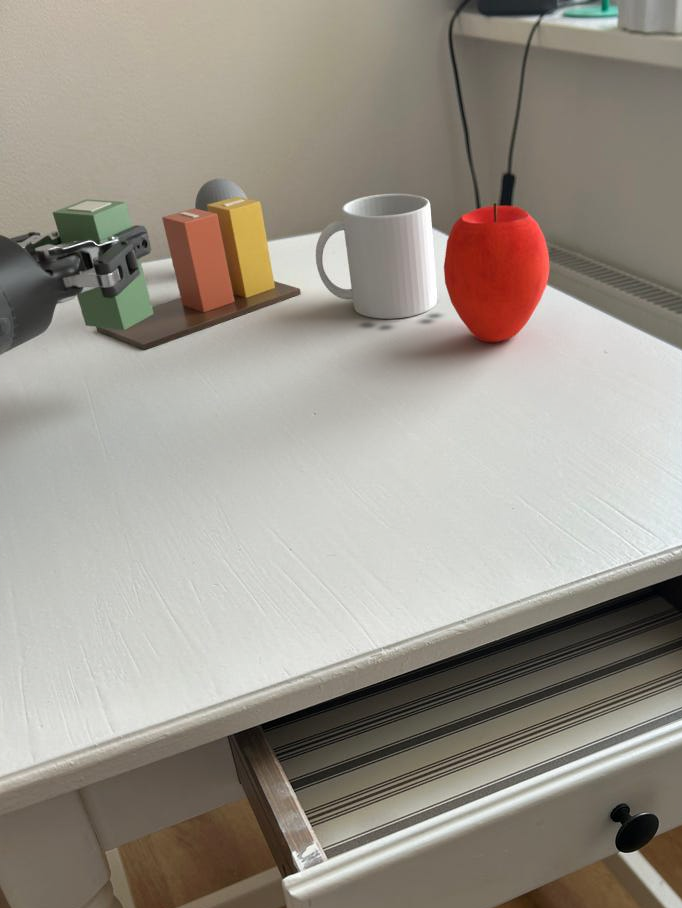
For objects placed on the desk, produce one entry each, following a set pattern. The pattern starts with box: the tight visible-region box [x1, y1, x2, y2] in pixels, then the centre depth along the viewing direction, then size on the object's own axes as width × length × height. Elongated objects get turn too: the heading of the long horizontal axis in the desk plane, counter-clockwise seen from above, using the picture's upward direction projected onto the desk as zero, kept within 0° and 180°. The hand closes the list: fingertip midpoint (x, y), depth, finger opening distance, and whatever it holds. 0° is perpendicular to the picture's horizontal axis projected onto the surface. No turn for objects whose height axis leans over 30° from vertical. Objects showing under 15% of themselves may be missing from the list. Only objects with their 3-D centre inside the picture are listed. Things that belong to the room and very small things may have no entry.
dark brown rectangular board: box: [95, 280, 302, 351], centre depth 105 cm, size 9×20×1 cm, turn 138°
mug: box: [315, 193, 438, 320], centre depth 101 cm, size 11×10×10 cm
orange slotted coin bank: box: [161, 207, 234, 312], centre depth 102 cm, size 4×4×9 cm
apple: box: [443, 202, 550, 343], centre depth 91 cm, size 10×10×12 cm
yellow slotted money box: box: [207, 197, 275, 298], centre depth 105 cm, size 4×4×9 cm
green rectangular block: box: [52, 198, 154, 330], centre depth 80 cm, size 4×4×9 cm
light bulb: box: [194, 178, 248, 212], centre depth 113 cm, size 6×6×10 cm
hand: (121, 236), depth 81 cm, fingers closed on green rectangular block, 4 cm apart
